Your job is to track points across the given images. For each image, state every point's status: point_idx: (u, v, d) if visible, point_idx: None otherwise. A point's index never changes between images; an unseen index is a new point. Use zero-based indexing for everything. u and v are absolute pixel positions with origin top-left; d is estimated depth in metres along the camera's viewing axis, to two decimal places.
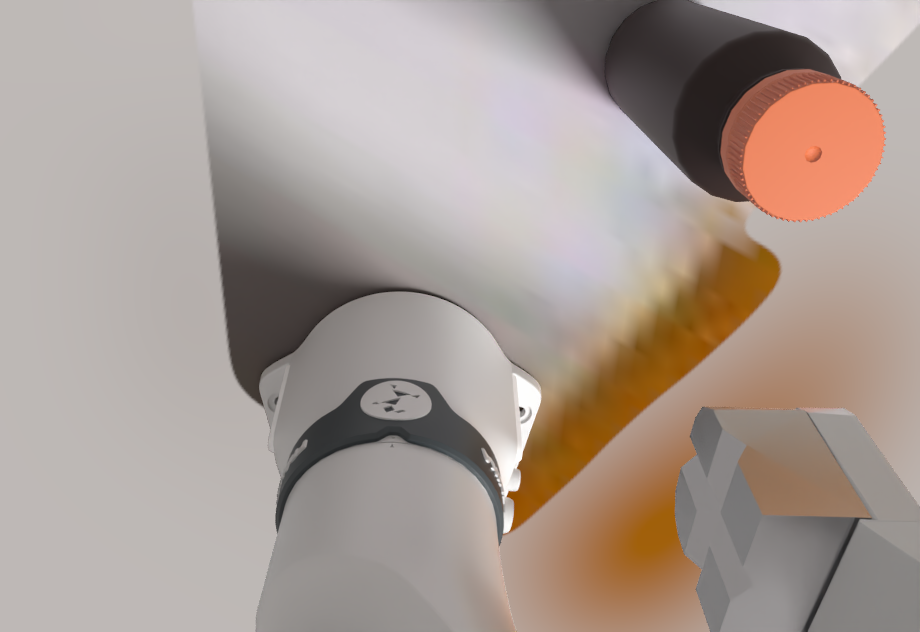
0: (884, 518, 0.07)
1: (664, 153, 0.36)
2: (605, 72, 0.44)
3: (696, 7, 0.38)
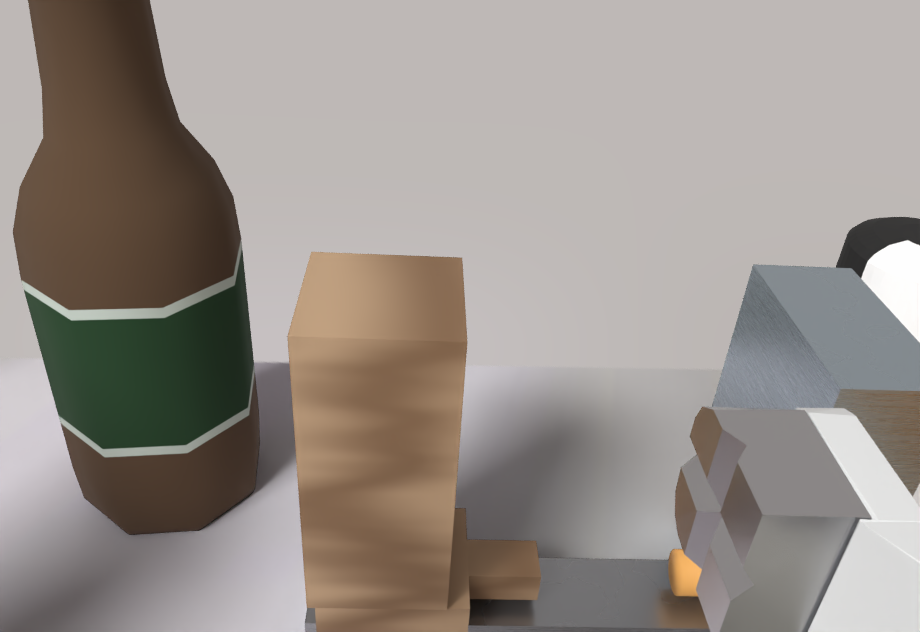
0: (884, 518, 0.07)
1: None
2: None
3: None
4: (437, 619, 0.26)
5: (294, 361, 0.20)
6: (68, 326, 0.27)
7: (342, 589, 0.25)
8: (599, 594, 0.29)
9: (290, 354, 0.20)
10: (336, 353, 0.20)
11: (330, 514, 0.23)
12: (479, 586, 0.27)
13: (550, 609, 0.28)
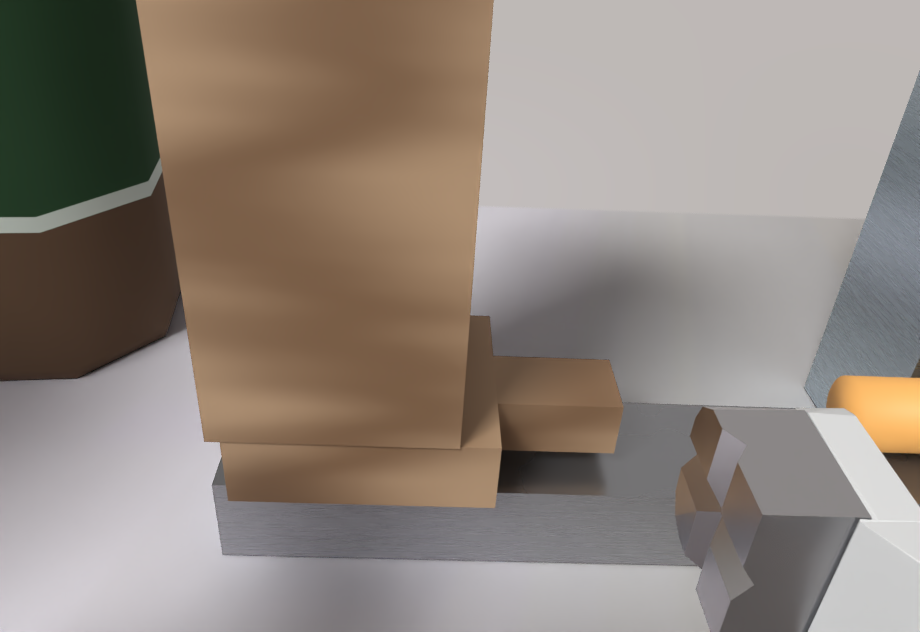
0: (884, 518, 0.07)
1: None
2: None
3: None
4: (442, 469, 0.14)
5: None
6: None
7: (267, 403, 0.13)
8: None
9: None
10: None
11: (231, 225, 0.12)
12: (515, 425, 0.16)
13: (635, 472, 0.16)
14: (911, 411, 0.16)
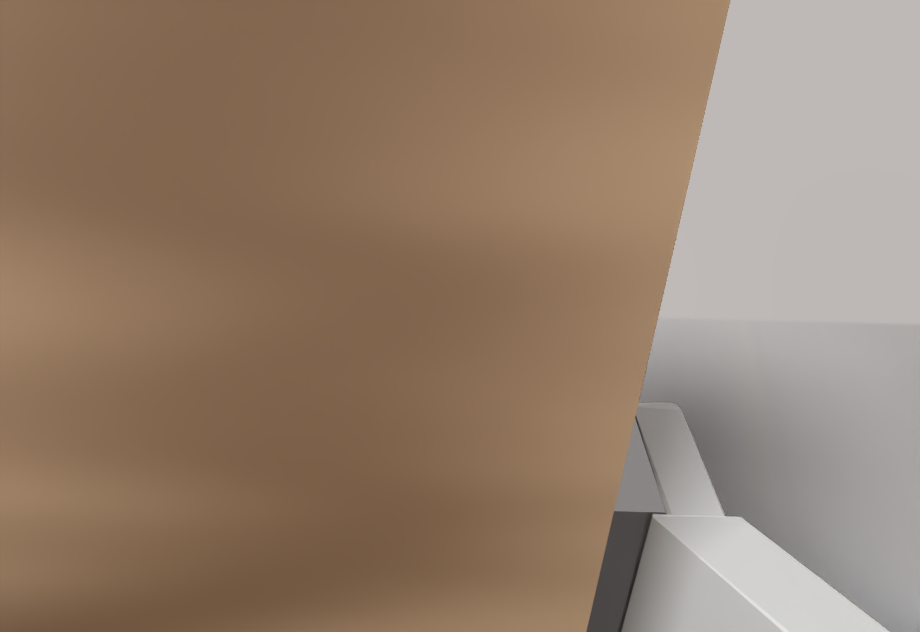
0: (678, 513, 0.07)
1: None
2: None
3: None
4: None
5: None
6: None
7: None
8: None
9: None
10: None
11: None
12: None
13: None
14: None
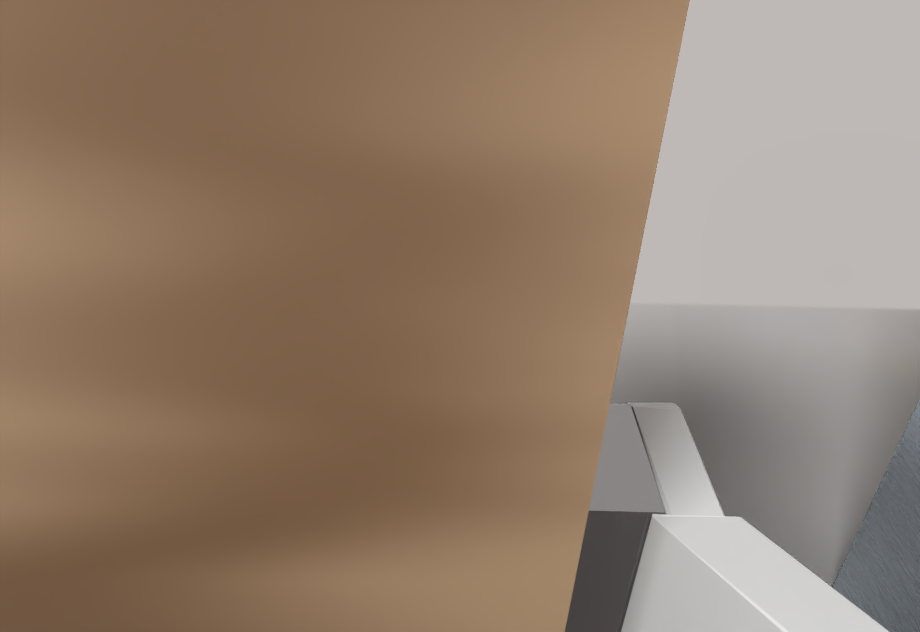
0: (678, 513, 0.07)
1: None
2: None
3: None
4: None
5: None
6: None
7: None
8: None
9: None
10: None
11: None
12: None
13: None
14: None
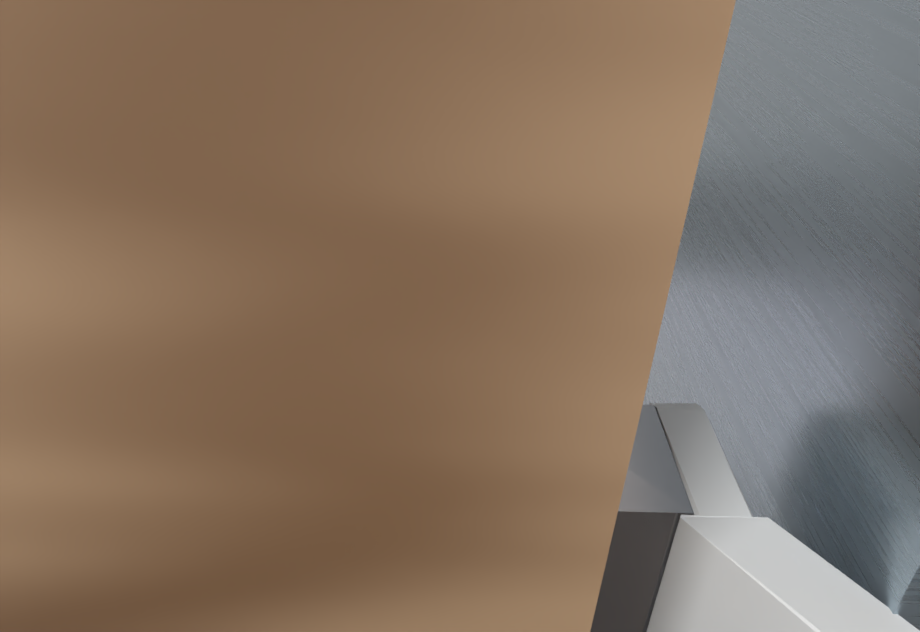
0: (706, 513, 0.07)
1: None
2: None
3: None
4: None
5: None
6: None
7: None
8: None
9: None
10: None
11: None
12: None
13: None
14: None
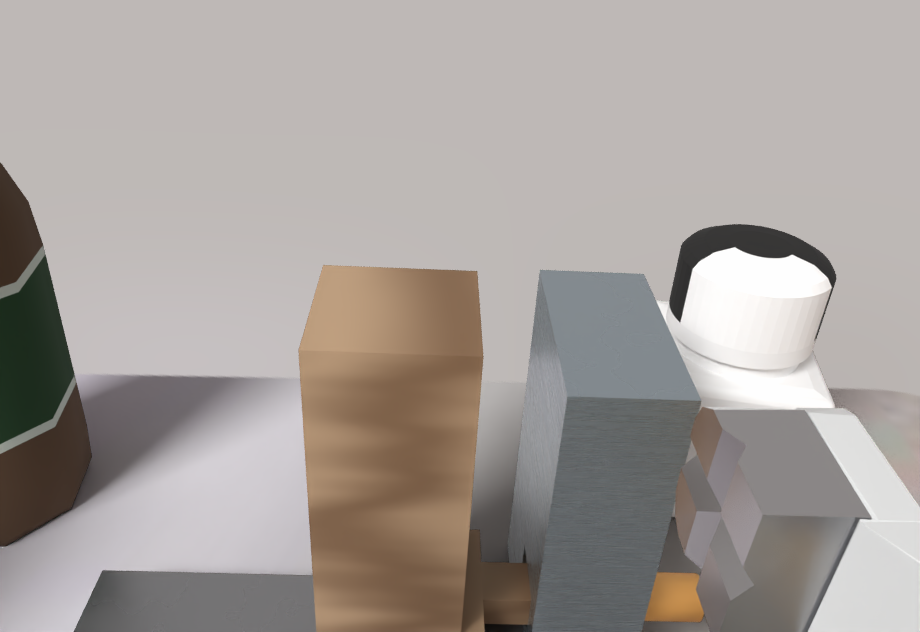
0: (884, 518, 0.07)
1: None
2: None
3: None
4: None
5: (305, 376, 0.20)
6: None
7: (353, 613, 0.24)
8: None
9: (301, 369, 0.20)
10: (348, 368, 0.20)
11: (341, 535, 0.22)
12: (494, 610, 0.26)
13: None
14: None
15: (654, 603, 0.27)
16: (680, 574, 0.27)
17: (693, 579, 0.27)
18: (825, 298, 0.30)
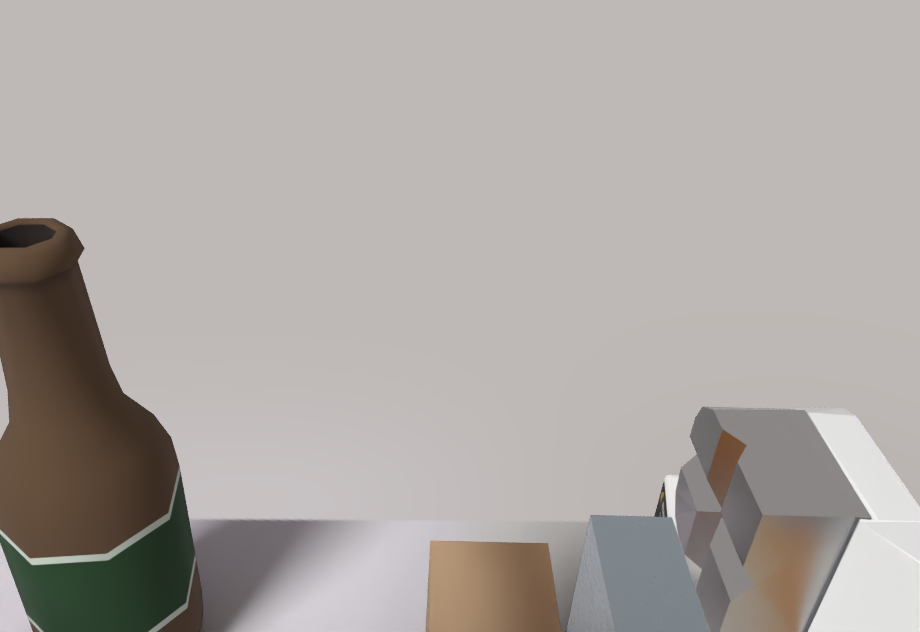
0: (884, 518, 0.07)
1: None
2: None
3: None
4: None
5: None
6: (30, 567, 0.33)
7: None
8: None
9: None
10: None
11: None
12: None
13: None
14: None
15: None
16: None
17: None
18: None
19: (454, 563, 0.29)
